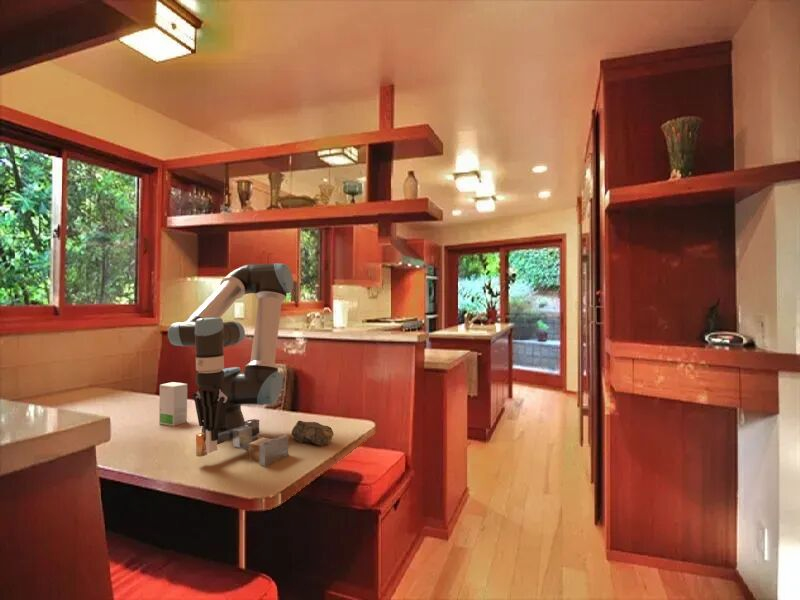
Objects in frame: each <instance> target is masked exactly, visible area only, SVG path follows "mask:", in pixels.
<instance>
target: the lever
mask: <svg viewBox="0 0 800 600" xmlns="http://www.w3.org/2000/svg"><path fill="white" fill-rule="evenodd" d="M244 421H245V425H243V426H240V427H237V428H233V429H230V430H227V431H224V432H221V433H218V440H217V446H218V445H220V444H223V443H226V442H229V441H232V447H235V446H236V447H242V446H245V445H247V444H249V443H251V442H252V435H256V434H258V435H259V434H260V420H259V419H256V418H255V419H254V418H253V419H248V420H244ZM236 447H235V448H236ZM195 455H196V457H198V458H199V457H200V458H202V457H205V456H207V455H208V452H206V440H205V433H202V432H200V433H197V434H195Z"/></svg>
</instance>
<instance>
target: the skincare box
mask: <svg viewBox="0 0 800 600" xmlns="http://www.w3.org/2000/svg"><path fill="white" fill-rule="evenodd" d="M158 405H159V407H158V408H159V413H158V416H159V418H158V419H159V420H158V424H159V425H166V426H170V427H176V426H178V425H181V424H185V423H187V422H188V421H187V419H188V415H187V414H188V383H183V382H176V381H175V382H174V381H171V382H167V383H162V384H159V404H158Z"/></svg>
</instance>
